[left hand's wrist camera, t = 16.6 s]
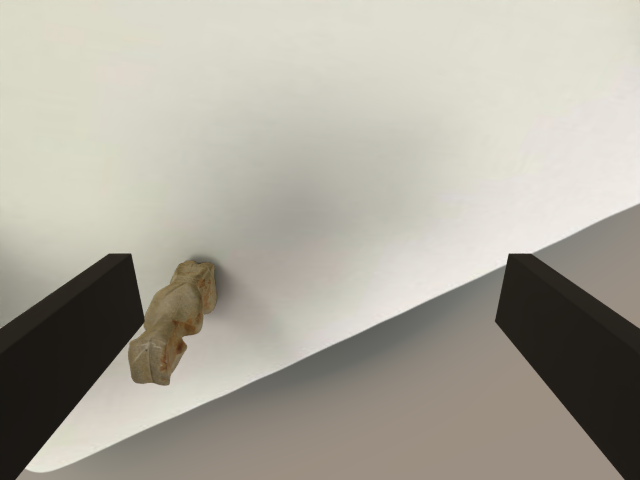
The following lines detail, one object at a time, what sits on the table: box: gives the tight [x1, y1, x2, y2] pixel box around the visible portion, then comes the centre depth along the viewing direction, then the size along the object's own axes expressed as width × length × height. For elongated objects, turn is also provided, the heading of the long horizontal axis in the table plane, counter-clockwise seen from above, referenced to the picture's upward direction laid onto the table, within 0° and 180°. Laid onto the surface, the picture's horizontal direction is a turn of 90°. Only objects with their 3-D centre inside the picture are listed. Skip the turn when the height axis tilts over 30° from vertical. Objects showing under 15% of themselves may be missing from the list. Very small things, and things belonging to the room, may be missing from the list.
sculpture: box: [128, 261, 217, 385], centre depth 37 cm, size 6×7×15 cm
